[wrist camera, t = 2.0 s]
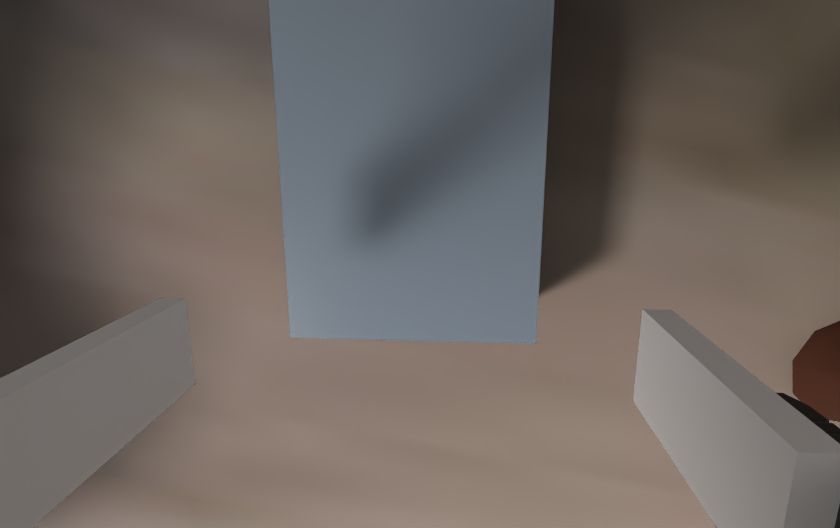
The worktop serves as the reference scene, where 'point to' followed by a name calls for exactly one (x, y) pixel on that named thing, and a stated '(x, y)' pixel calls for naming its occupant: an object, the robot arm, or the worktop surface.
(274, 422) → the worktop surface
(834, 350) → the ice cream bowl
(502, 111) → the grey slate tile
